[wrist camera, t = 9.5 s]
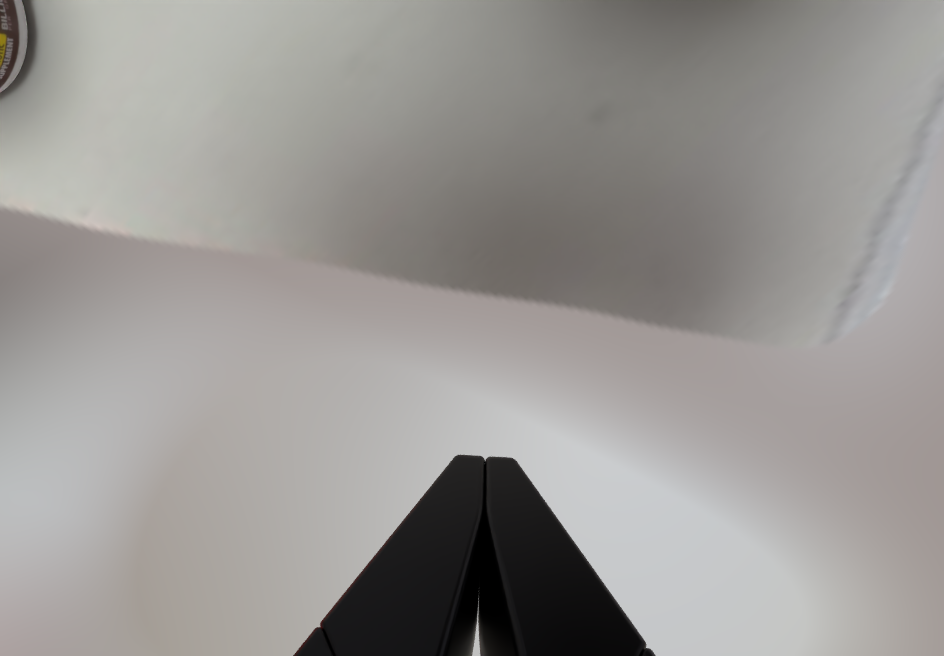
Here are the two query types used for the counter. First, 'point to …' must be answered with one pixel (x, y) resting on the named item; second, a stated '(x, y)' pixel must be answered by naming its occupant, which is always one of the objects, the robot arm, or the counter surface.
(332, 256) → the counter surface
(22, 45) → the supplement bottle
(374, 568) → the robot arm
